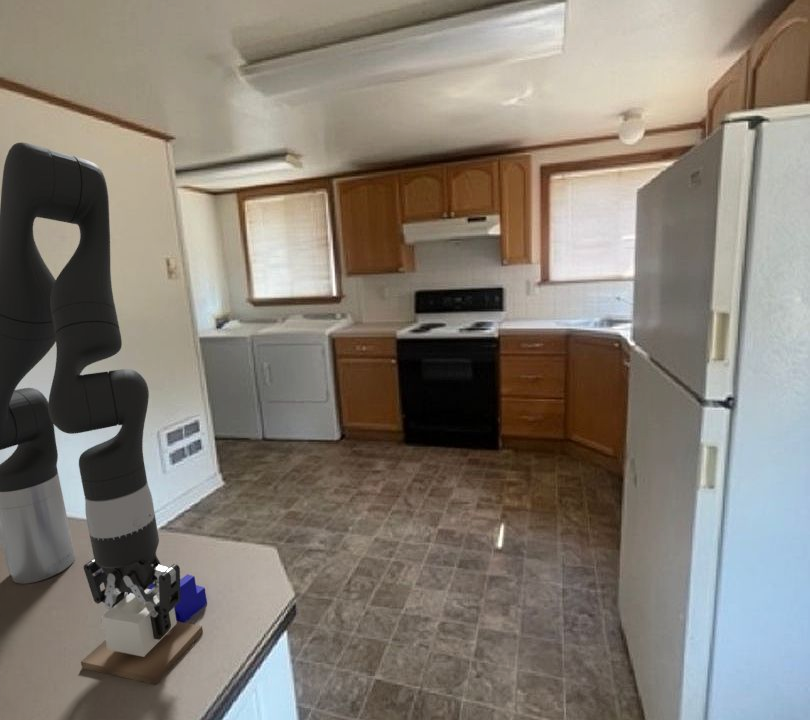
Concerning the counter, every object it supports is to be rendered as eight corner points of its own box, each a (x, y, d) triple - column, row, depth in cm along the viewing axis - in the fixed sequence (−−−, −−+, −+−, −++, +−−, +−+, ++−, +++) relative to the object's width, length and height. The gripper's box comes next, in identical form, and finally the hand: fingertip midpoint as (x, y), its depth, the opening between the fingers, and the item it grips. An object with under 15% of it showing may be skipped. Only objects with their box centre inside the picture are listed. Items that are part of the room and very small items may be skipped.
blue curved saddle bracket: (207, 604, 74) (202, 570, 73) (183, 624, 70) (178, 588, 69) (154, 587, 79) (149, 555, 78) (129, 605, 75) (123, 571, 74)
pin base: (82, 668, 63) (75, 638, 62) (135, 619, 71) (131, 593, 70) (155, 684, 59) (150, 653, 59) (202, 631, 68) (198, 603, 67)
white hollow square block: (142, 617, 69) (137, 587, 68) (176, 623, 67) (171, 592, 66) (107, 649, 63) (101, 616, 62) (143, 656, 61) (138, 623, 60)
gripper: (188, 510, 63) (204, 619, 67) (103, 502, 67) (123, 605, 70) (144, 541, 56) (165, 661, 59) (53, 530, 60) (77, 644, 63)
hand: (142, 630), depth 65 cm, fingers closed on white hollow square block, 6 cm apart
